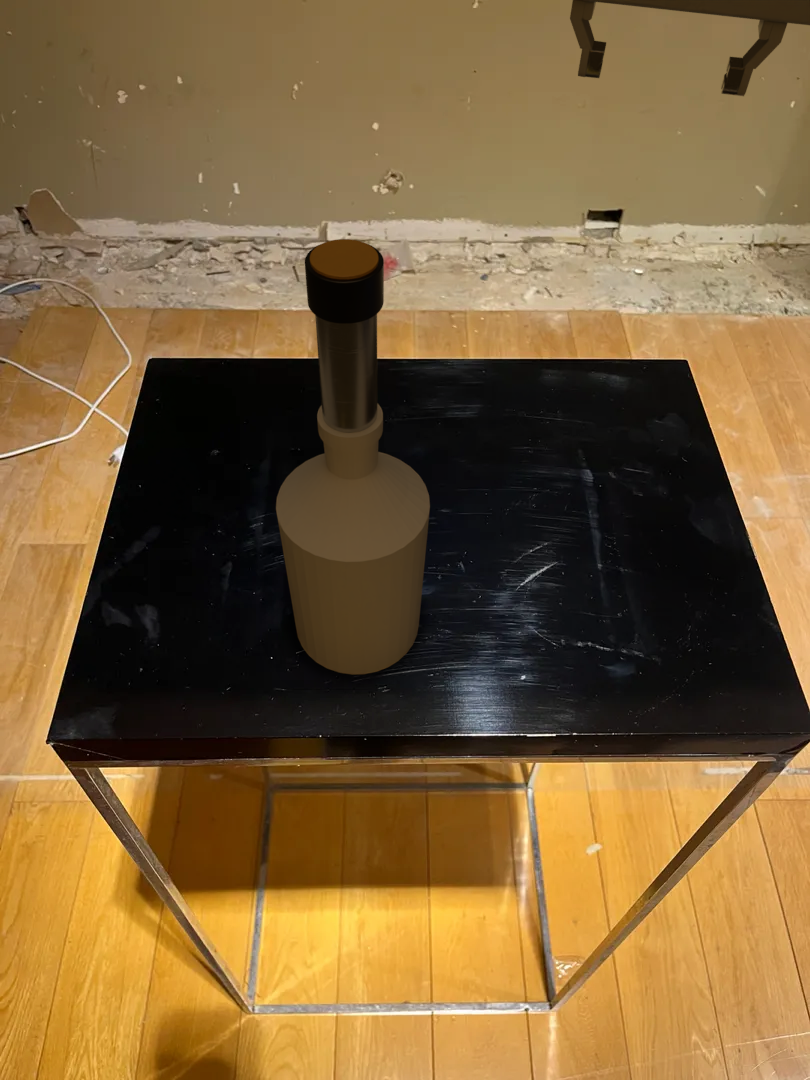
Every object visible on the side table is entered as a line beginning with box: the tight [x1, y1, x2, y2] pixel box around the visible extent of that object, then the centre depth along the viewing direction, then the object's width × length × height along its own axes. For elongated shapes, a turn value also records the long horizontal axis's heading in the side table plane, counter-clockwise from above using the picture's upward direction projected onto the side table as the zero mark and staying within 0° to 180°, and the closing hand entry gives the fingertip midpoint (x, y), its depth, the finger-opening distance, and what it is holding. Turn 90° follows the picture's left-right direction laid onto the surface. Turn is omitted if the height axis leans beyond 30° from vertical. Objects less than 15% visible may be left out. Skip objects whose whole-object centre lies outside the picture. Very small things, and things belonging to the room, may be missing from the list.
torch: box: [304, 238, 385, 433], centre depth 52 cm, size 5×5×12 cm
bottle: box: [275, 402, 431, 675], centre depth 67 cm, size 12×12×25 cm
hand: (659, 83), depth 55 cm, fingers open, 8 cm apart
